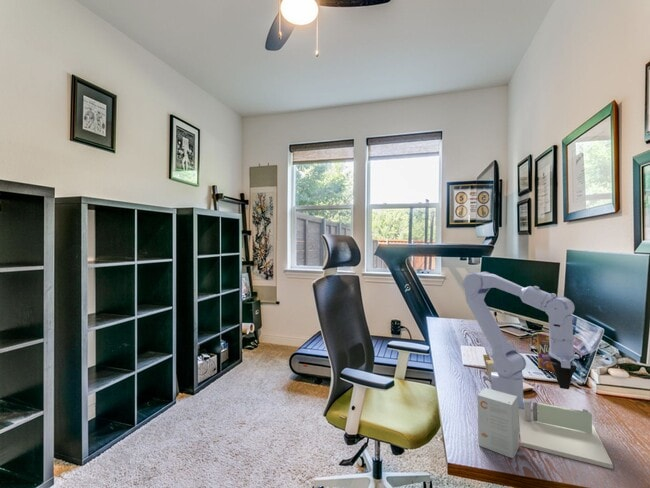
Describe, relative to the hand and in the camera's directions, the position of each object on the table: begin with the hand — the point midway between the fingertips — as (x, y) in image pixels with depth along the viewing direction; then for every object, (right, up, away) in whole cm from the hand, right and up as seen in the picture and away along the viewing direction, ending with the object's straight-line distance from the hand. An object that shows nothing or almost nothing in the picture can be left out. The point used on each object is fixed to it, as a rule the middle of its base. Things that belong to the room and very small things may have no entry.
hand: (563, 385), depth 94 cm
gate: (-4, -9, -5) cm, 11 cm away
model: (-4, -12, +34) cm, 36 cm away
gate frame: (-7, -10, -8) cm, 14 cm away
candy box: (+23, -11, +38) cm, 46 cm away
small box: (-25, -11, -12) cm, 30 cm away
